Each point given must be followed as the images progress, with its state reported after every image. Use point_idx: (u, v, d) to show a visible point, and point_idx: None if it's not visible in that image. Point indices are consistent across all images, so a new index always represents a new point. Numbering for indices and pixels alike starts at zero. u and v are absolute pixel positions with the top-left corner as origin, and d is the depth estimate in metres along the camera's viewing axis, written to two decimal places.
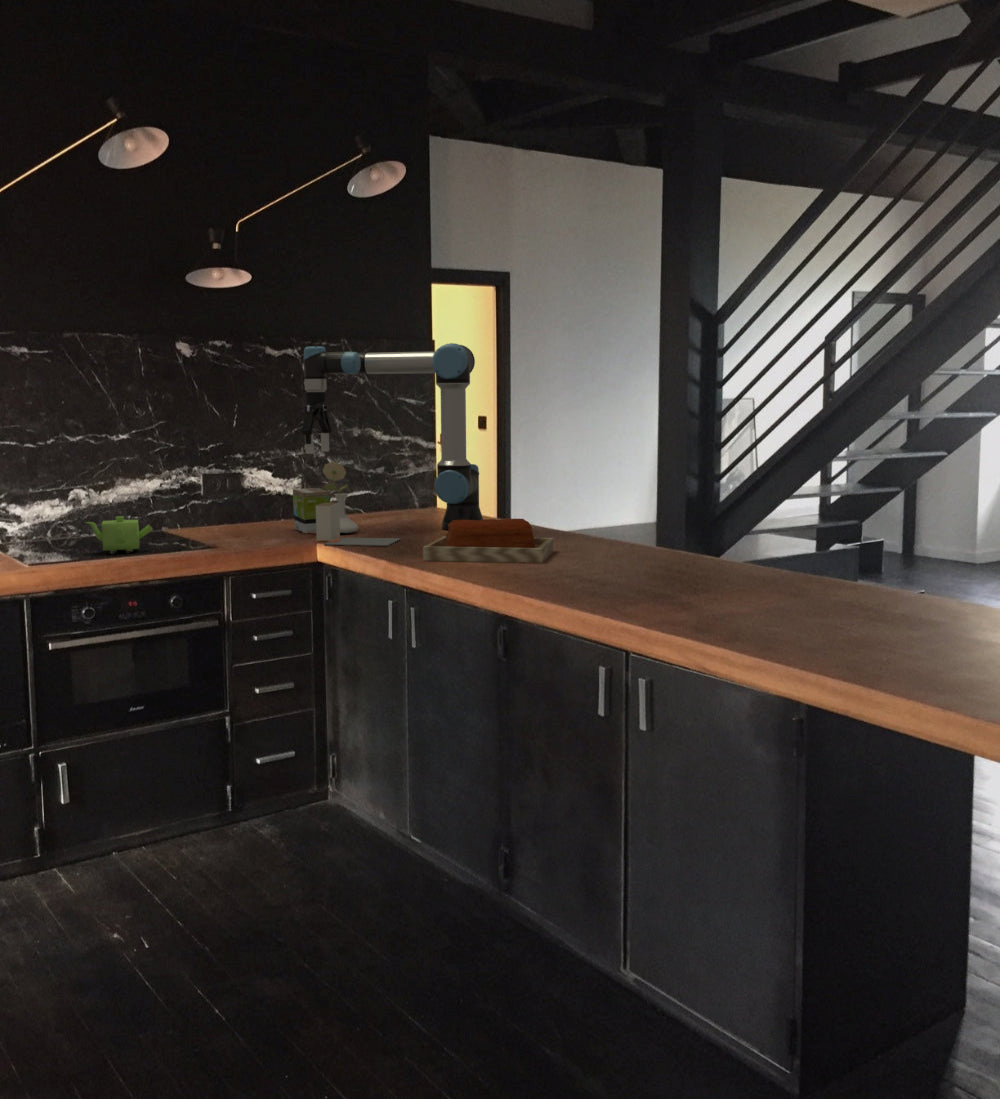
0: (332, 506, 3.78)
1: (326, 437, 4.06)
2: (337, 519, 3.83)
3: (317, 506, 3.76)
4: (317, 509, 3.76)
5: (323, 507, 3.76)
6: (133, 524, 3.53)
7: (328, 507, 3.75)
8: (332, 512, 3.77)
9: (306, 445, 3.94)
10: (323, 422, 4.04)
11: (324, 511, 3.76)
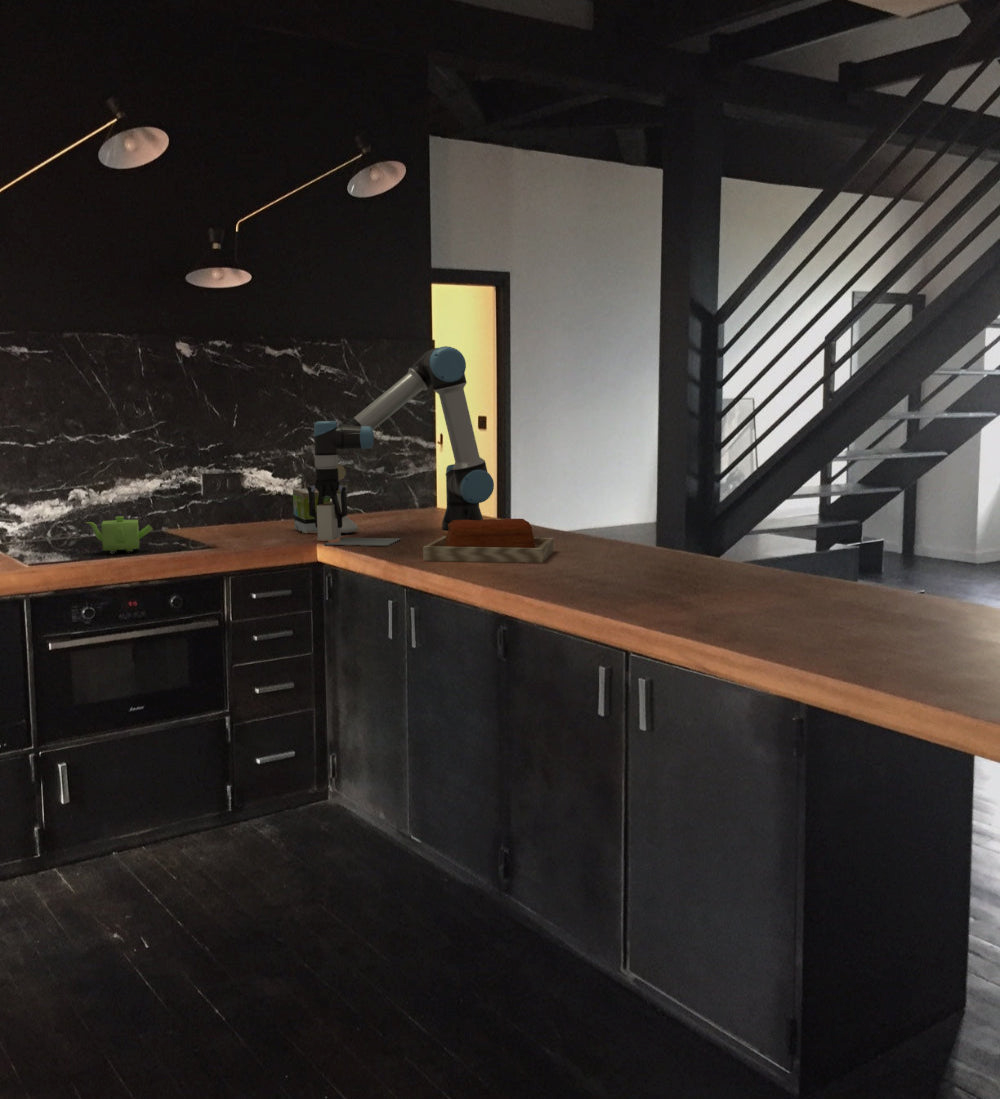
0: (333, 506, 3.77)
1: None
2: None
3: (318, 506, 3.76)
4: (318, 509, 3.76)
5: (324, 507, 3.76)
6: (133, 524, 3.53)
7: (329, 507, 3.75)
8: (333, 511, 3.77)
9: None
10: None
11: (325, 511, 3.76)
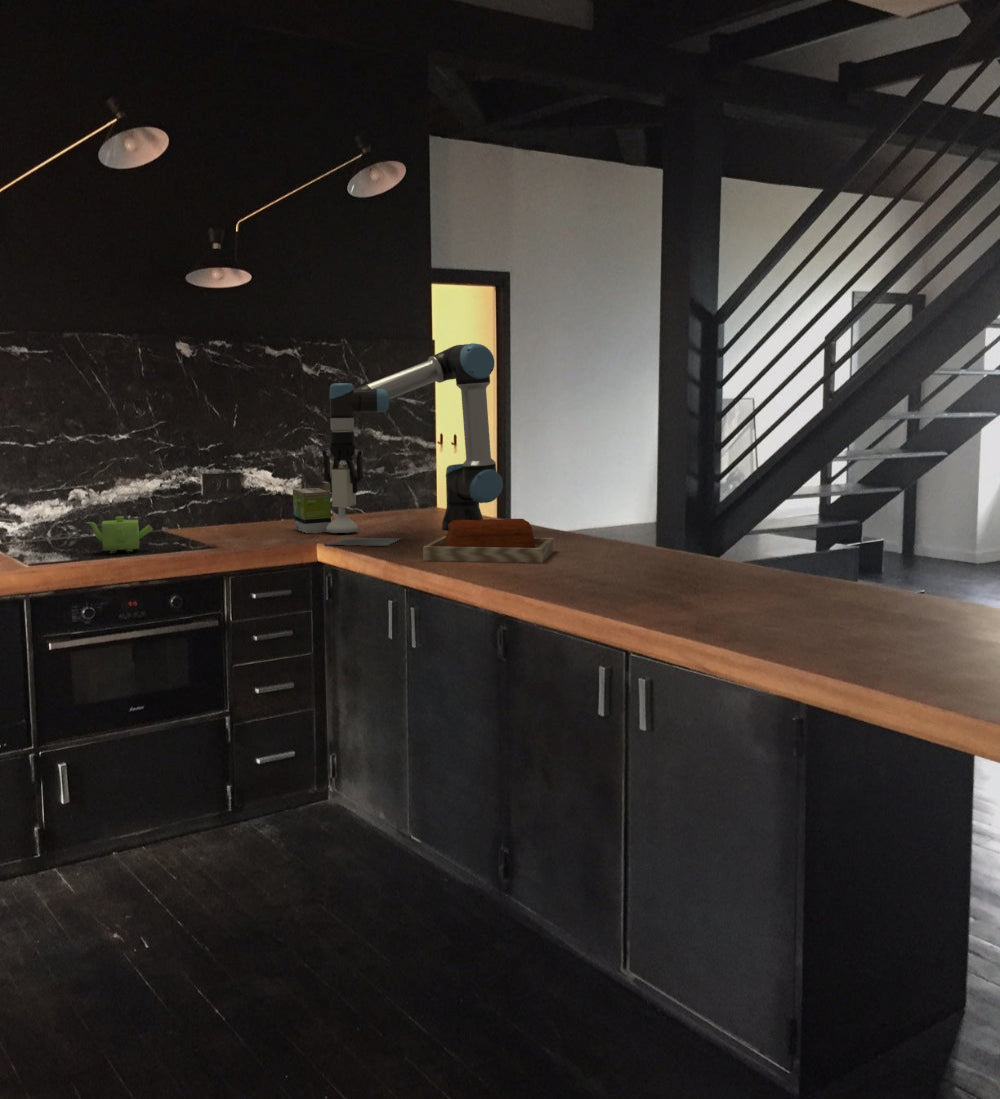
0: (348, 470, 3.68)
1: None
2: None
3: (333, 470, 3.67)
4: (333, 473, 3.67)
5: (339, 471, 3.67)
6: (133, 524, 3.53)
7: (344, 471, 3.66)
8: (348, 476, 3.68)
9: None
10: None
11: (340, 475, 3.67)
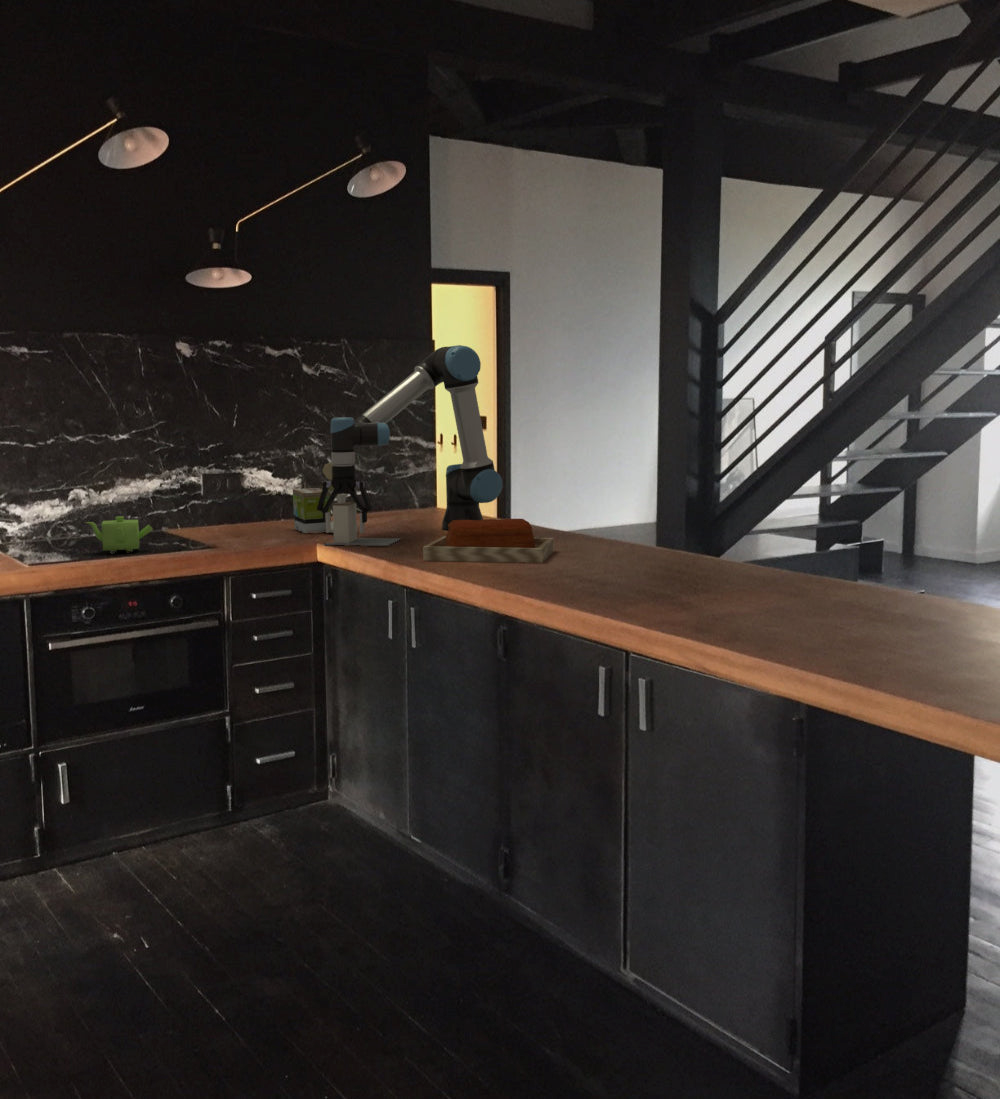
0: (350, 506, 3.70)
1: None
2: (355, 519, 3.76)
3: (334, 506, 3.69)
4: (334, 509, 3.69)
5: (341, 507, 3.68)
6: (133, 524, 3.53)
7: (346, 507, 3.68)
8: (349, 512, 3.70)
9: None
10: None
11: (342, 511, 3.68)
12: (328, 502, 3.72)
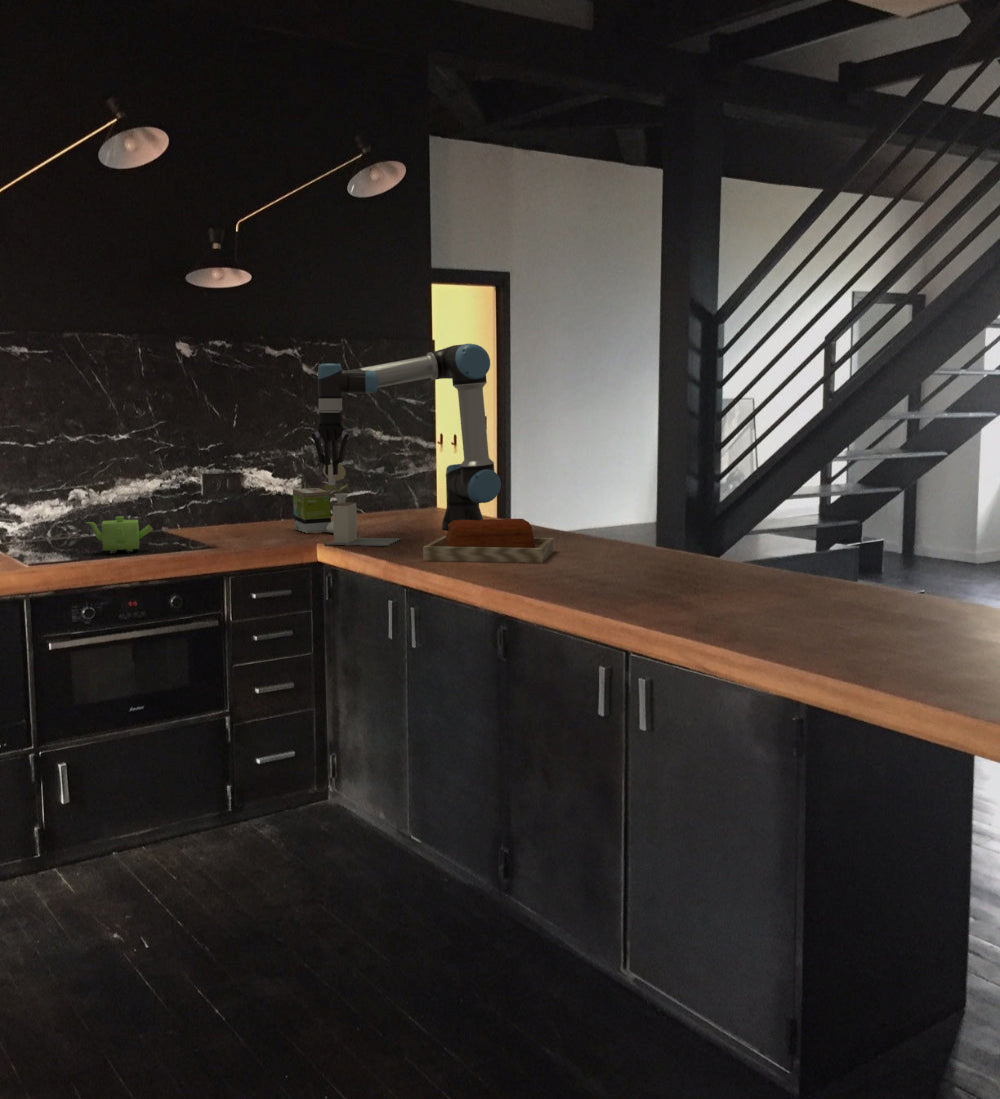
0: (350, 506, 3.70)
1: None
2: (355, 519, 3.76)
3: (334, 506, 3.69)
4: (334, 509, 3.69)
5: (341, 507, 3.68)
6: (133, 524, 3.53)
7: (346, 507, 3.68)
8: (349, 512, 3.70)
9: None
10: None
11: (342, 511, 3.68)
12: (326, 453, 3.70)
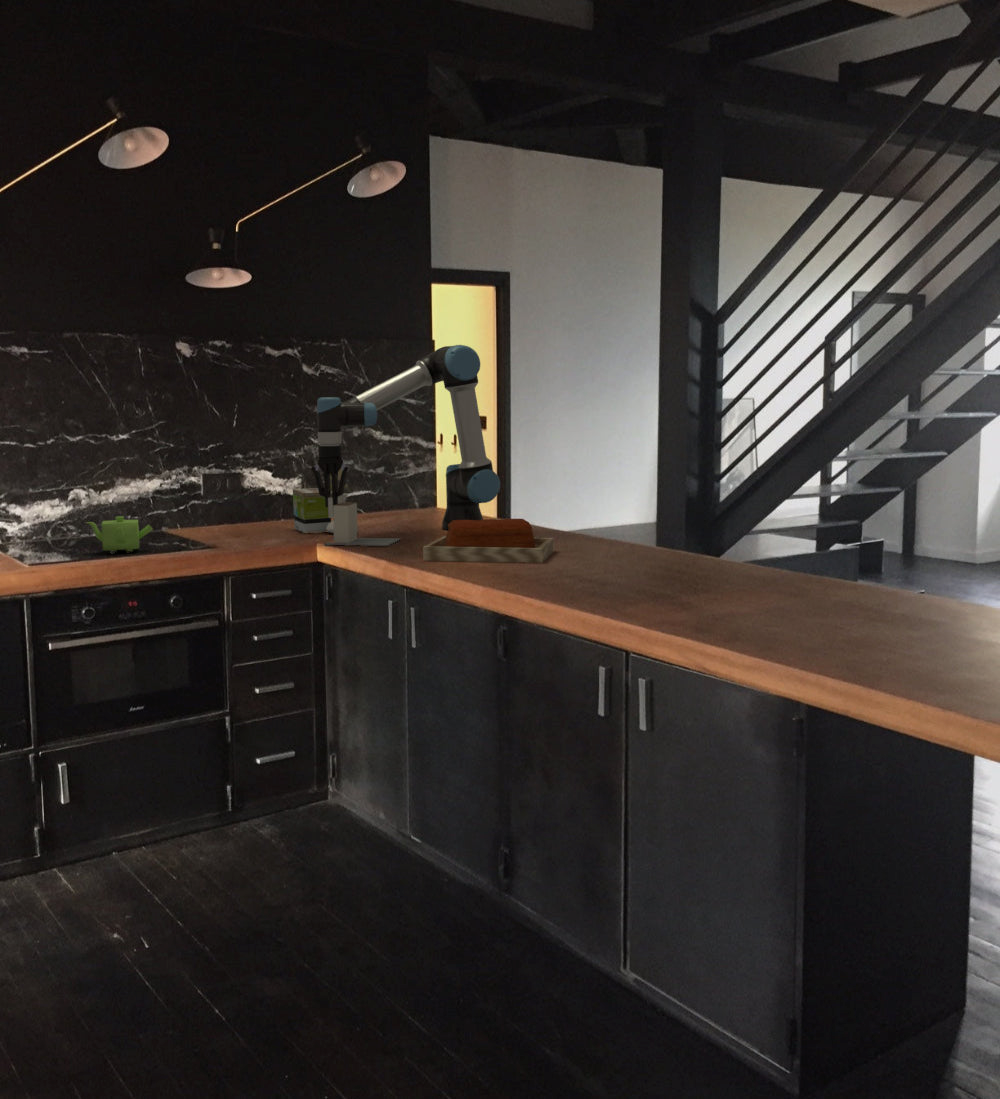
0: (350, 506, 3.70)
1: None
2: (355, 519, 3.76)
3: (335, 506, 3.69)
4: (335, 509, 3.69)
5: (341, 507, 3.68)
6: (133, 524, 3.53)
7: (346, 507, 3.68)
8: (350, 512, 3.70)
9: None
10: None
11: (342, 511, 3.68)
12: (325, 486, 3.72)
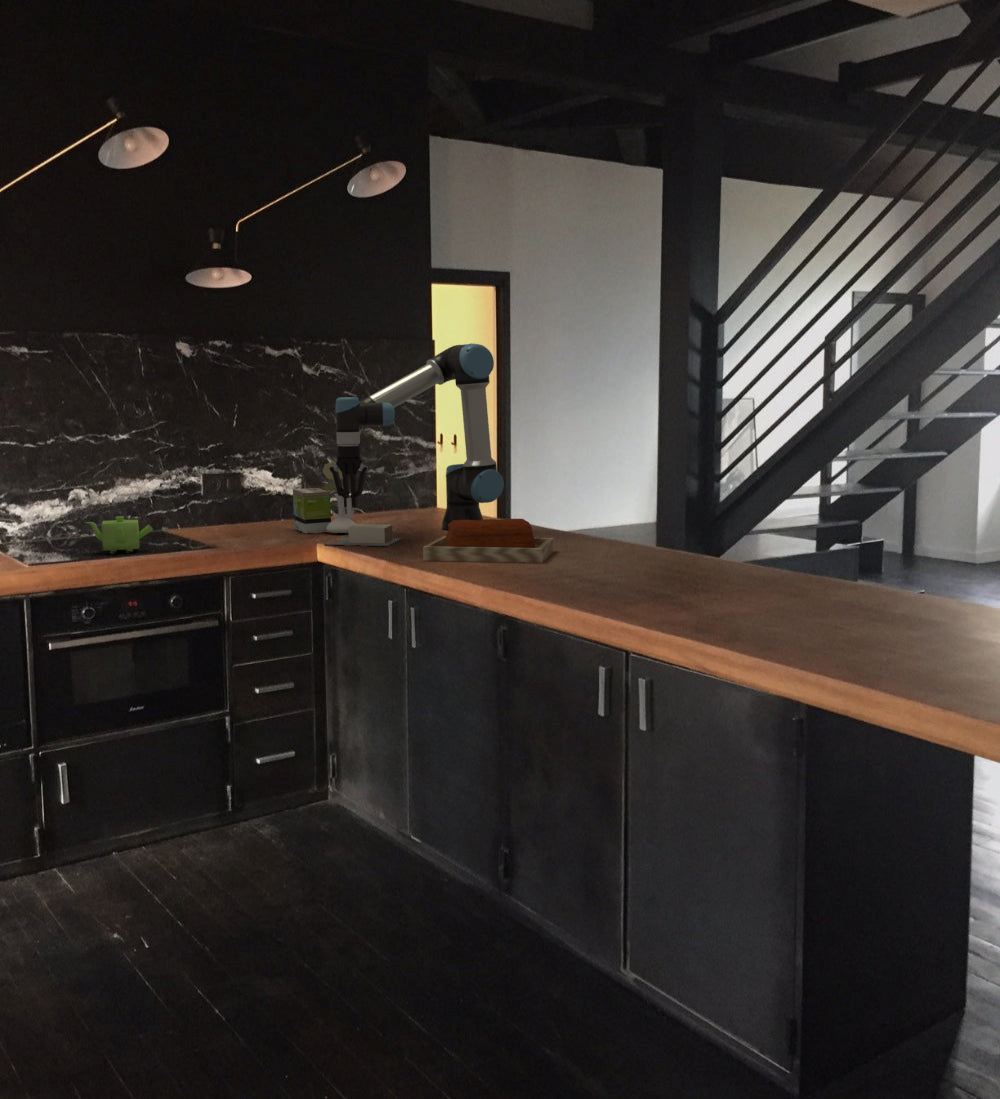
0: None
1: None
2: None
3: (383, 529, 3.67)
4: (380, 529, 3.67)
5: (382, 536, 3.67)
6: (133, 524, 3.53)
7: (382, 541, 3.67)
8: None
9: None
10: None
11: (378, 537, 3.67)
12: (344, 486, 3.70)
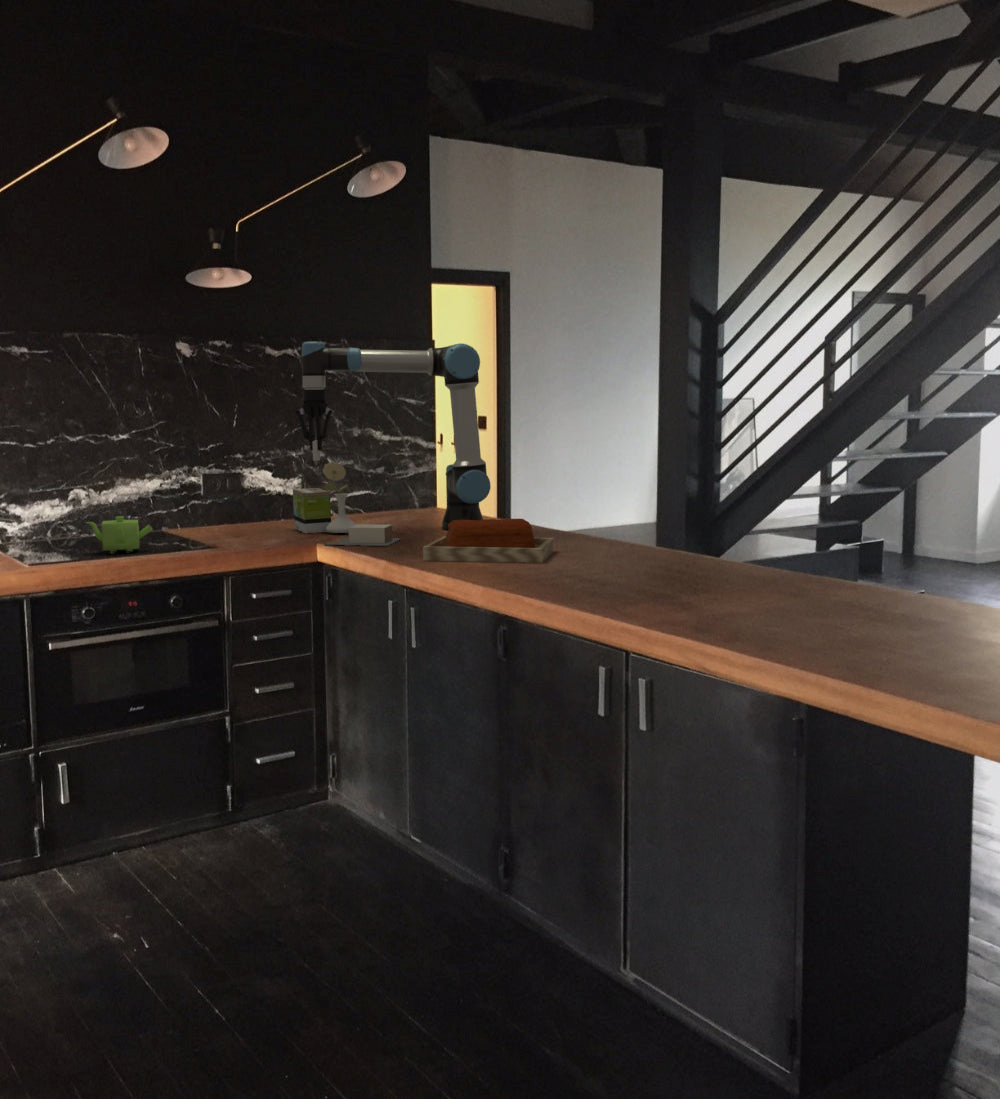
0: None
1: None
2: None
3: (383, 529, 3.67)
4: (380, 529, 3.67)
5: (382, 536, 3.67)
6: (133, 524, 3.53)
7: (382, 541, 3.67)
8: None
9: None
10: None
11: (378, 537, 3.67)
12: (310, 429, 3.78)
